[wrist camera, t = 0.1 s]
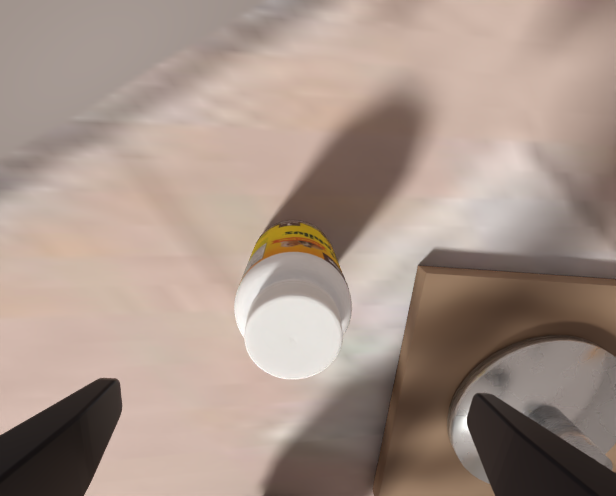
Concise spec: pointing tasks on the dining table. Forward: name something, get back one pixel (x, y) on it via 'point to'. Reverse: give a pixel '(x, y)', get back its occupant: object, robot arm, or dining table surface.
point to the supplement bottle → (293, 302)
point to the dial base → (472, 360)
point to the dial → (544, 394)
